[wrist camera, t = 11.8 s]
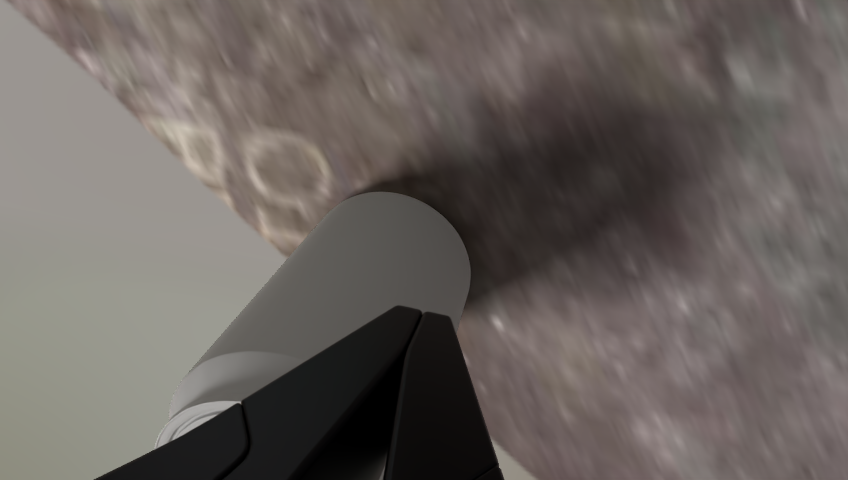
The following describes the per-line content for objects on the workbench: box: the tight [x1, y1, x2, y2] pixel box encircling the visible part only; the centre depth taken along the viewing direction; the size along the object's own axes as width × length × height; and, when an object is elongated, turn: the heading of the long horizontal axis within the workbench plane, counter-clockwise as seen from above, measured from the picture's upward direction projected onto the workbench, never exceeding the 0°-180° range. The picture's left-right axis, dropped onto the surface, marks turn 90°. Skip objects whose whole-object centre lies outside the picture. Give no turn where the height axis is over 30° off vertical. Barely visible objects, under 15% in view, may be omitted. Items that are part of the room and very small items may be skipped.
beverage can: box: [154, 192, 471, 480], centre depth 19 cm, size 6×6×12 cm
